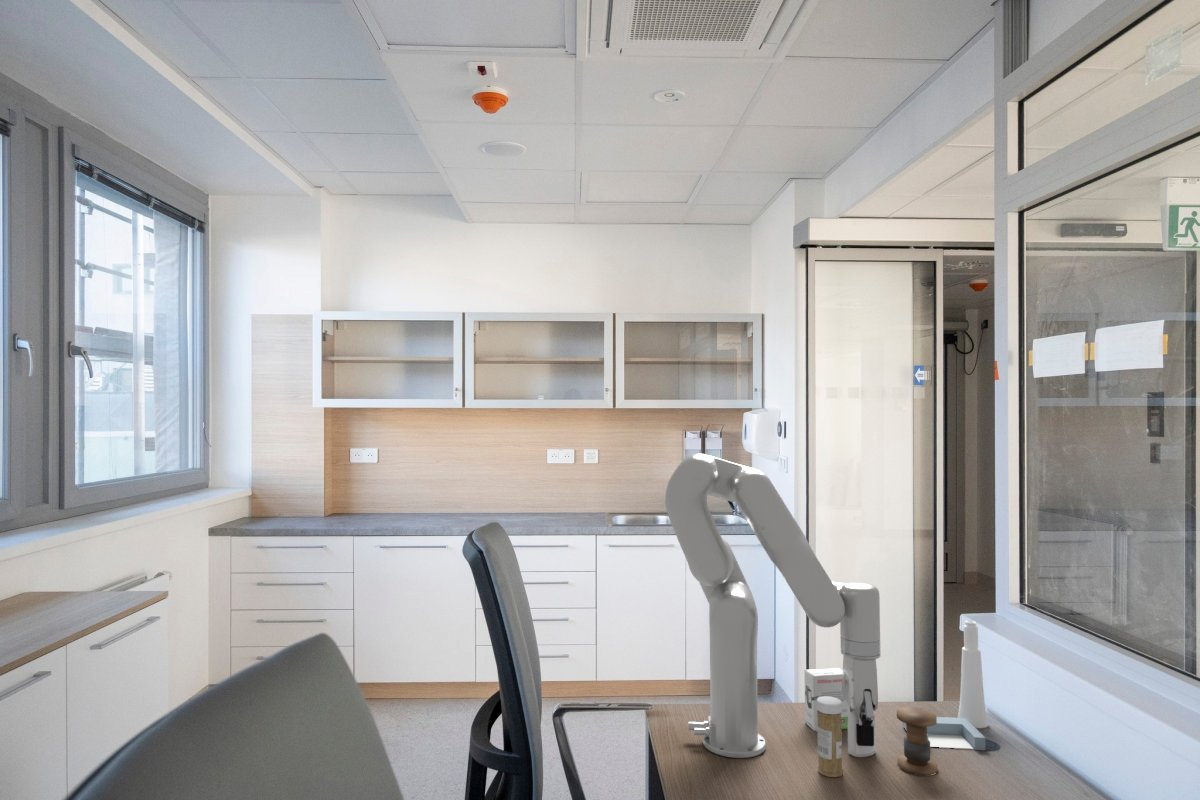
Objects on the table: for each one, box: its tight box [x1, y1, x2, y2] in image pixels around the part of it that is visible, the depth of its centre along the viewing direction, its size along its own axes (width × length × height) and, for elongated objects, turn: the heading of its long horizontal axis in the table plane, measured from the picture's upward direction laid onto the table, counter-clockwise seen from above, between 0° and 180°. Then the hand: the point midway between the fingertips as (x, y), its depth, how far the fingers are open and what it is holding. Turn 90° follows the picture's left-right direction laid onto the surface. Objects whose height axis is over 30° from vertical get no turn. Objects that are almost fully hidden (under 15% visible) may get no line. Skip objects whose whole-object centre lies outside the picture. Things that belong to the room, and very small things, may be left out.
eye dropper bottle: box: [847, 705, 877, 758], centre depth 144 cm, size 4×6×12 cm
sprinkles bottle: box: [817, 696, 844, 778], centre depth 136 cm, size 5×5×13 cm
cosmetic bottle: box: [957, 620, 989, 729], centre depth 159 cm, size 6×6×22 cm
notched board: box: [902, 716, 986, 751], centre depth 150 cm, size 13×10×2 cm
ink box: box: [803, 667, 851, 732], centre depth 157 cm, size 9×5×12 cm, turn 99°
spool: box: [896, 706, 939, 776], centre depth 138 cm, size 7×7×10 cm
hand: (861, 738), depth 143 cm, fingers open, 4 cm apart
